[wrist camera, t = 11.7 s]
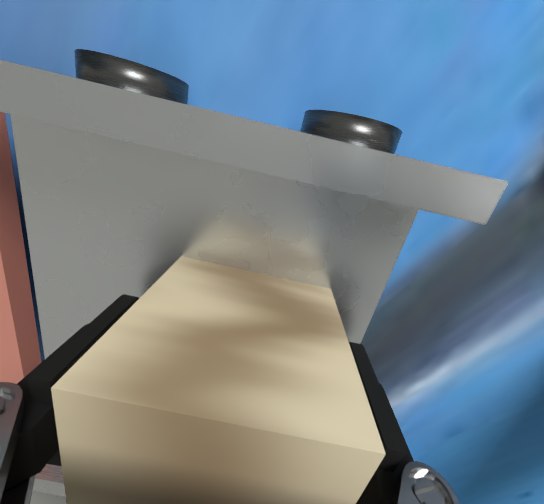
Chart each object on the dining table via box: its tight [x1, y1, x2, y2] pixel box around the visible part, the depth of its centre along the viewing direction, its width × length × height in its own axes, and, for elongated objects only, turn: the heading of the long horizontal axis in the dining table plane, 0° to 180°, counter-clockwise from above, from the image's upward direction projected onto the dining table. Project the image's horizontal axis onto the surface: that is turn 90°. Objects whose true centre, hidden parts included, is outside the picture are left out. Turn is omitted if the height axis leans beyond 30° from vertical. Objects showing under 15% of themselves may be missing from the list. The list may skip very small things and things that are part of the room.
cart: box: [0, 49, 509, 497], centre depth 12 cm, size 14×18×8 cm
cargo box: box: [51, 256, 386, 504], centre depth 8 cm, size 6×6×6 cm
